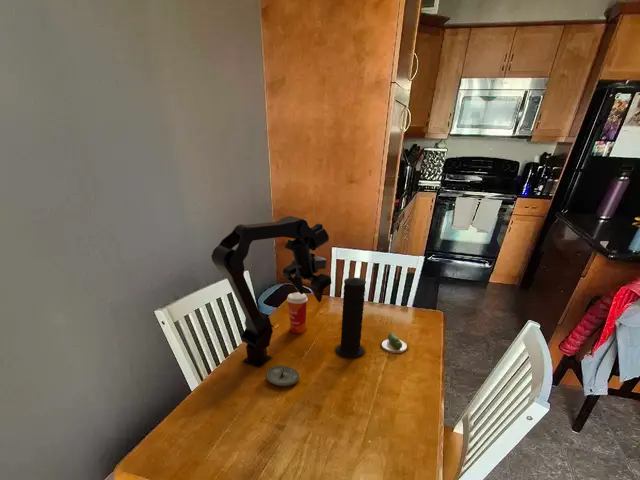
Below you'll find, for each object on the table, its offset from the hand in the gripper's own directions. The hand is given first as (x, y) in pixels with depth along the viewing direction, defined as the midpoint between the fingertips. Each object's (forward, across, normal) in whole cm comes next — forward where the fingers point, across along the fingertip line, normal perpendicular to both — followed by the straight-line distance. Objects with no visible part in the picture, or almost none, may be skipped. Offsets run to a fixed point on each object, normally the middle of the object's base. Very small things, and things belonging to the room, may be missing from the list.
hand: (310, 297), depth 129 cm
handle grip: (+16, -18, +1) cm, 23 cm away
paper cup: (+15, +7, +4) cm, 17 cm away
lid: (+9, -15, +29) cm, 33 cm away
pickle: (+19, -26, -12) cm, 35 cm away
